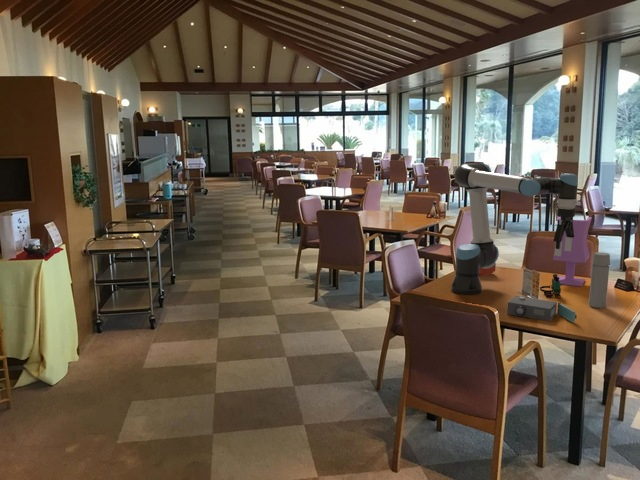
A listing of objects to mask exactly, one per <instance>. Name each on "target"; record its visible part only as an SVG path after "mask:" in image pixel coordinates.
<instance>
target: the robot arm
mask: <svg viewBox="0 0 640 480" xmlns="http://www.w3.org/2000/svg"><path fill="white" fill-rule="evenodd" d="M453 176H454V181H455V182H456V183H457V185H459V186H460V187H464V188H465V191H466V192H467V193H468V197H469V207H470V208H469V209H470V219H471V230H472V239H471V241H470V243H467V244H466V243H465V244H461V245H459V246H457V247H456V251H455V273H454V278H453V281H452V284H451V288H450V289H451V291H452V292H454V293H456V294H462V295H478V294H481V293H482V292H483V287H482V284H481V279H480V274H479V268H482V267H485V266H490V265H492V264H494V263H495V262H497V261H498V259H499V254H500V251H499V249H498V247H497V246H496V245H495V243H494V242H495V241H494V239H493V238H491V232H490V221H489V211H488V209H489V207H488V198H487V197H488V196H487V191H488V189H492V190H499V191H505V192H511V193H517V194H522V195H523V196H526V197H534V196H539V195H540V196H541V195H546V194H547V195H549V194H551V195H558V196H557V197H558V198H557V209H556V210H557V211H556V217H561V220H558V223H557V224H556V228H555V233H554V236H553V242H554V252H555V254H554V253H553V255H555V256H561V250H562V242H561V241H562V238H563V235H564V232H566V236H567V237H566V238H565V250H564V251H571V244H572V238H571V237H573V238H574V229H573V220H574V217H575V216H576V209H575V208H576V204H578V203H577V202H578V201H577V193H578V178H579V177H578V175H577V174H573V173H561V174H560V175H559V177H549V176H548V177H545V176H537V177H535V178H531V177H530V178H529V177H525V176H516V175H510V174H504V173H496V172H492V170H491V168H490V167H489V165H487V164H486V163H482V162H475V163H474V162H472V163H471V162H470V163H463V164H460V165H459V166H458V167H456V169H455V171H454V175H453Z"/></svg>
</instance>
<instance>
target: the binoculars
mask: <svg viewBox="0 0 640 480" xmlns="http://www.w3.org/2000/svg"><path fill="white" fill-rule="evenodd" d="M558 276H559V275H558V274H557V273H556V274H552V277H553V278H551V284H549V285H542V286H540V287H539V290H540V292H543V295H544V296H545V298H551V297H552V298H553V297H554V298H557V299H561V298H562V295H561V293H562V288H561V286H563V285H562V284H560V281H559V277H558ZM547 289H549V290H547Z"/></svg>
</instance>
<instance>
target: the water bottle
mask: <svg viewBox="0 0 640 480" xmlns="http://www.w3.org/2000/svg"><path fill="white" fill-rule="evenodd" d="M591 264H592V265H591V272H590V284H589V286H590V287H589V295H588V296H589V297H588V298H589V299H588V305H589V307H591V308H595V309H603V308H606V306H607V298H608V285H609V276H610V275H609V273H610V266H611V255H610V253H609V252H603V251H602V252H601V251H598V252H597V251H596V252H594V253H593V256H592V261H591Z"/></svg>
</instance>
